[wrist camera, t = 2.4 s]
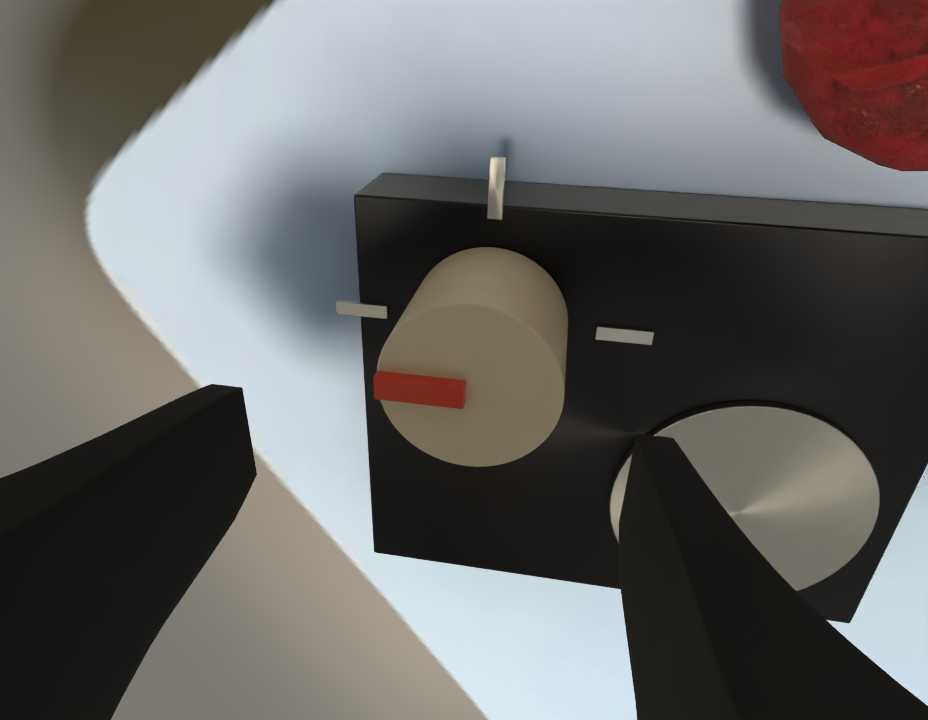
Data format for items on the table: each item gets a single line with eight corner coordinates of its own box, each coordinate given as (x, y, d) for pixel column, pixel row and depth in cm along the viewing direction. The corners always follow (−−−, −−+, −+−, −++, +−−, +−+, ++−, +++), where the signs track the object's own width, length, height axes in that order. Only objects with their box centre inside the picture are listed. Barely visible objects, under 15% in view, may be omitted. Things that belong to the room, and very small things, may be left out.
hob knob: (576, 253, 15) (574, 320, 12) (559, 395, 17) (553, 487, 14) (413, 240, 15) (367, 300, 12) (415, 379, 17) (375, 463, 14)
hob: (992, 166, 15) (1066, 193, 13) (823, 562, 21) (852, 628, 19) (358, 129, 17) (323, 147, 15) (377, 500, 23) (354, 553, 21)
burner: (917, 416, 16) (922, 423, 15) (829, 609, 19) (832, 617, 19) (628, 385, 16) (629, 391, 16) (594, 574, 20) (594, 582, 20)
